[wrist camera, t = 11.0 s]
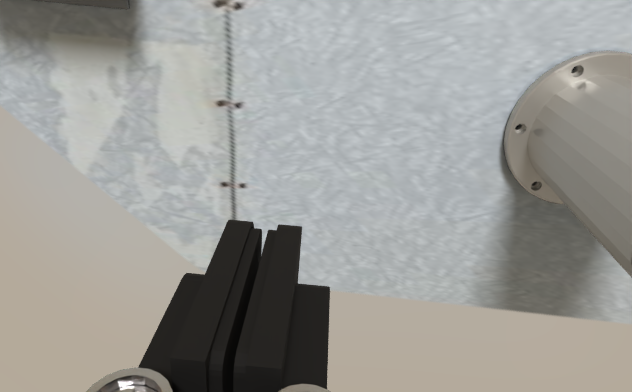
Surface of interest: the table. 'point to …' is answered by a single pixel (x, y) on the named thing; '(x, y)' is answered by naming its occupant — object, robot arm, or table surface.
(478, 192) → the table surface
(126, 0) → the mat
